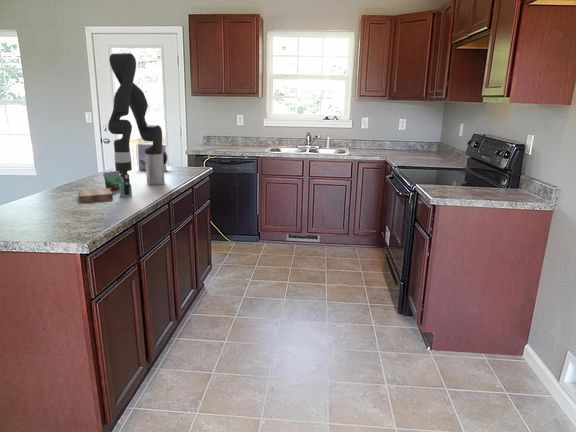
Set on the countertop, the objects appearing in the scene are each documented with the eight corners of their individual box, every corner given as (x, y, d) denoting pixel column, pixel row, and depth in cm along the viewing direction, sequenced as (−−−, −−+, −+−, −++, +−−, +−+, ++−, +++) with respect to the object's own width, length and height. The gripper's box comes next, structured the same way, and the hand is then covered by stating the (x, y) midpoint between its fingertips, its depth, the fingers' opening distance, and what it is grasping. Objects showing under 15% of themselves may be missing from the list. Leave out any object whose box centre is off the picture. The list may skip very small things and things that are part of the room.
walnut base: (109, 194, 214) (108, 188, 213) (113, 199, 202) (112, 193, 201) (78, 196, 207) (78, 190, 206) (80, 202, 195) (80, 196, 194)
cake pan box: (168, 169, 290) (166, 144, 285) (165, 171, 285) (164, 144, 280) (141, 169, 292) (139, 143, 287) (138, 170, 287) (136, 144, 282)
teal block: (130, 194, 214) (129, 182, 213) (132, 196, 210) (131, 184, 209) (120, 195, 212) (119, 183, 210) (121, 197, 208) (120, 185, 206)
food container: (115, 192, 219) (113, 173, 216) (104, 191, 220) (102, 172, 217) (128, 187, 231) (126, 169, 228) (118, 186, 232) (116, 168, 229)
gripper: (133, 162, 202) (136, 195, 206) (128, 158, 214) (131, 189, 218) (116, 163, 199) (119, 196, 203) (113, 159, 211) (115, 191, 215)
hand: (125, 193), depth 211 cm, fingers open, 8 cm apart
